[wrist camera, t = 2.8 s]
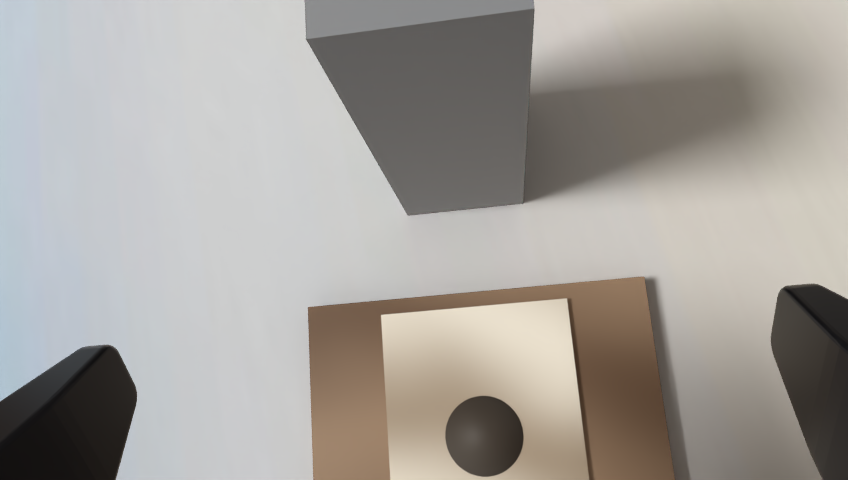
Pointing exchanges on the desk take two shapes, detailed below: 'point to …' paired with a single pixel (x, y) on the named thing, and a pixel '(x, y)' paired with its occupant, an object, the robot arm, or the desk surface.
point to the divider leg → (434, 93)
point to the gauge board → (490, 386)
